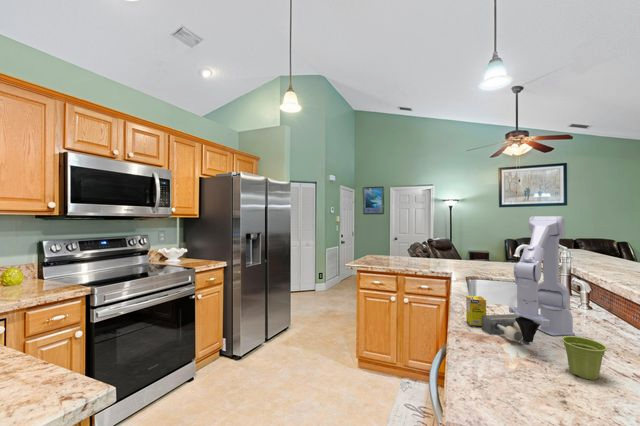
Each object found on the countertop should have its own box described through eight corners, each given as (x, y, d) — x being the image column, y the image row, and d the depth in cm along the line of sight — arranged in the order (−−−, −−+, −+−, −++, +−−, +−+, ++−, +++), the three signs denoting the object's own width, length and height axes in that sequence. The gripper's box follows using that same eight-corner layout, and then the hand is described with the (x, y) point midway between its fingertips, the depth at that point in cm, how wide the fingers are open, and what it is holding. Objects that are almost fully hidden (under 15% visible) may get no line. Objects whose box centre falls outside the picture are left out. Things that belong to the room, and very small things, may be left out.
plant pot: (596, 368, 86) (595, 338, 86) (615, 386, 77) (615, 352, 78) (556, 363, 89) (556, 334, 90) (571, 380, 81) (570, 347, 81)
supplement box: (486, 328, 118) (486, 300, 118) (470, 327, 119) (469, 299, 119) (481, 322, 124) (481, 296, 124) (466, 321, 125) (465, 295, 125)
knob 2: (510, 324, 119) (510, 314, 119) (532, 335, 108) (532, 323, 108) (501, 325, 118) (501, 314, 118) (521, 335, 108) (521, 323, 108)
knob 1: (501, 330, 113) (501, 319, 113) (523, 342, 103) (523, 329, 103) (491, 330, 113) (491, 319, 113) (512, 342, 102) (512, 330, 102)
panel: (515, 328, 118) (515, 313, 118) (525, 332, 113) (525, 318, 113) (481, 329, 117) (481, 315, 117) (490, 334, 112) (490, 319, 112)
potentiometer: (523, 340, 106) (522, 330, 106) (531, 343, 104) (531, 332, 104) (516, 342, 105) (516, 331, 105) (525, 345, 102) (525, 334, 102)
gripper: (500, 294, 105) (501, 333, 105) (534, 306, 91) (534, 352, 90) (519, 293, 106) (519, 332, 106) (555, 305, 91) (556, 350, 91)
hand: (528, 341), depth 98 cm, fingers closed
